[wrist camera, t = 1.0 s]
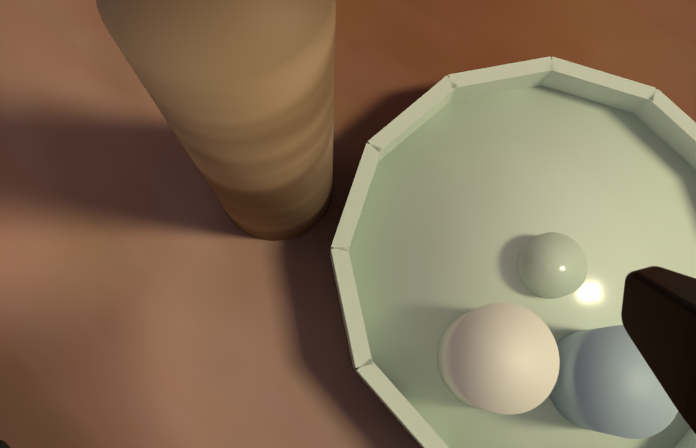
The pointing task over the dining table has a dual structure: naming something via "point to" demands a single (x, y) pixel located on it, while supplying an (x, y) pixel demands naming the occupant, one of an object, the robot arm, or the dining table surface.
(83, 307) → the dining table surface
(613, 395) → the blue-grey rounded piece
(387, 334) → the green tray
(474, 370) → the cream round bead
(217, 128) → the pepper grinder
